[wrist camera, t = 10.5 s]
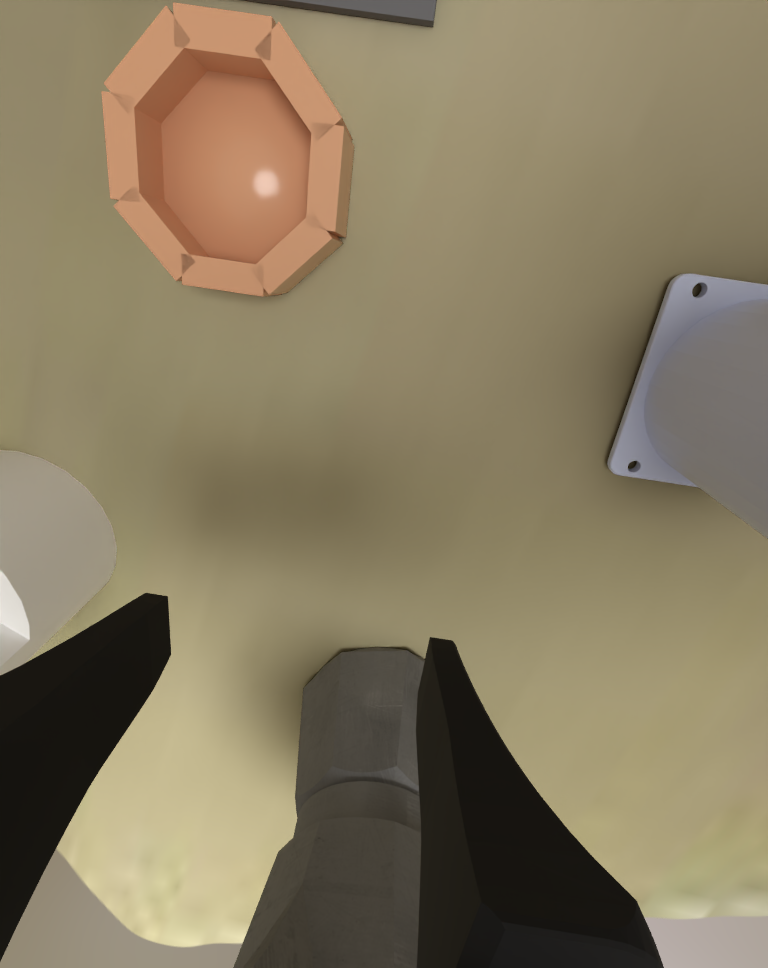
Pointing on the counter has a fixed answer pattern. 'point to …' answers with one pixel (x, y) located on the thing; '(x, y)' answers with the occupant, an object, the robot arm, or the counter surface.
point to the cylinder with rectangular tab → (46, 553)
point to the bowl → (227, 152)
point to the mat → (370, 9)
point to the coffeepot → (349, 825)
